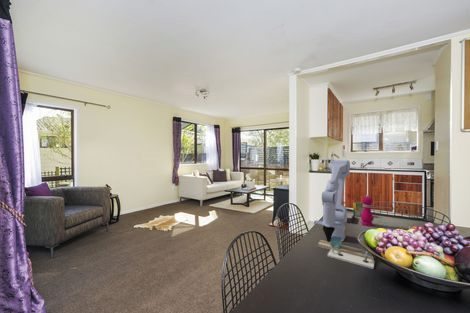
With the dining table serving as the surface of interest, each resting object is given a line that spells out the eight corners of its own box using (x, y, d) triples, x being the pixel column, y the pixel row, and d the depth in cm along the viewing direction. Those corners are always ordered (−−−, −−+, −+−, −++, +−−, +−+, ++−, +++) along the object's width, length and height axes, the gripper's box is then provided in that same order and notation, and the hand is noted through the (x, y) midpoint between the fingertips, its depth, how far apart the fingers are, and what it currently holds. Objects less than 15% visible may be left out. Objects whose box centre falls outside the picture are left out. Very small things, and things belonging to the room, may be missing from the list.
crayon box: (361, 214, 165) (361, 199, 164) (364, 215, 162) (364, 200, 162) (352, 215, 164) (353, 200, 163) (355, 216, 161) (355, 200, 160)
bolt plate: (330, 250, 105) (330, 249, 105) (374, 262, 95) (374, 260, 95) (327, 256, 100) (327, 254, 100) (373, 269, 89) (373, 267, 89)
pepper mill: (358, 223, 144) (358, 194, 144) (365, 222, 147) (365, 193, 147) (368, 227, 138) (369, 196, 137) (375, 225, 141) (376, 195, 140)
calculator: (354, 213, 157) (352, 217, 145) (354, 219, 157) (352, 223, 145) (338, 210, 163) (334, 214, 151) (338, 216, 163) (334, 220, 151)
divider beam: (320, 242, 115) (320, 233, 115) (374, 255, 101) (374, 244, 100) (314, 250, 106) (314, 240, 106) (372, 265, 92) (372, 254, 92)
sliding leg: (332, 243, 111) (332, 235, 111) (341, 245, 108) (341, 237, 108) (327, 251, 102) (328, 242, 102) (337, 253, 100) (337, 244, 100)
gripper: (312, 214, 110) (312, 240, 111) (343, 219, 102) (343, 247, 102) (316, 211, 116) (316, 236, 116) (346, 215, 107) (345, 242, 108)
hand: (328, 241), depth 109 cm, fingers closed
